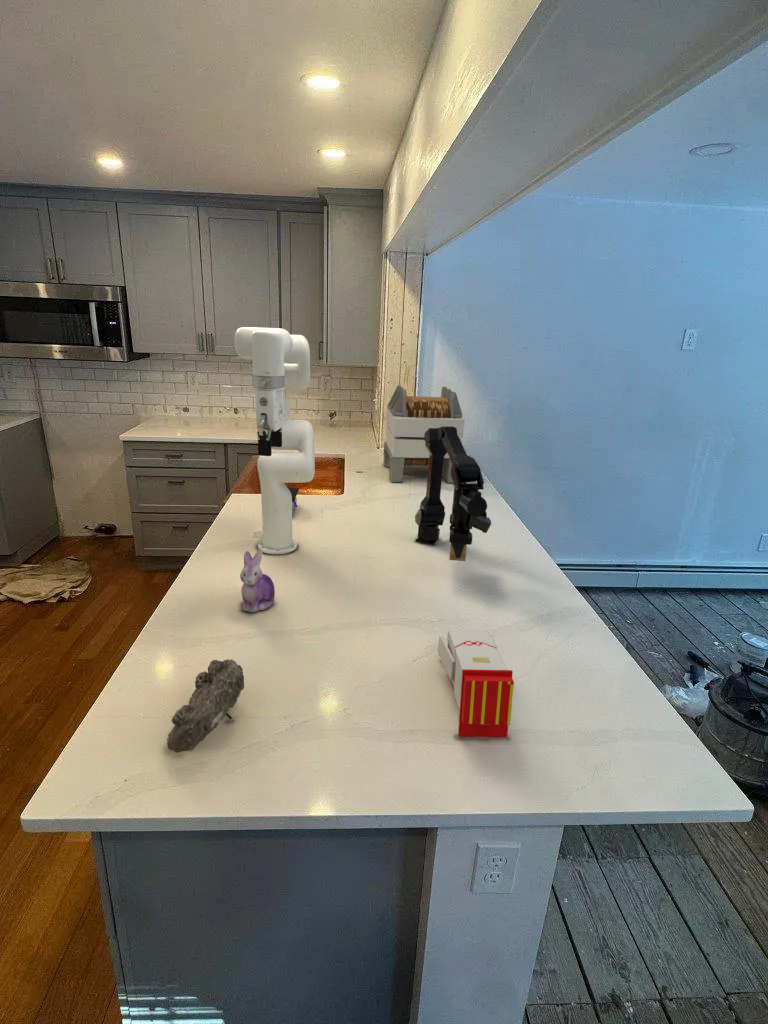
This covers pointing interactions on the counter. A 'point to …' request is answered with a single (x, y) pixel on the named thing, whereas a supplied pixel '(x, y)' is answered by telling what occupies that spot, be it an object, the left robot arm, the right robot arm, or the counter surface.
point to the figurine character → (293, 496)
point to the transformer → (417, 429)
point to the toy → (478, 682)
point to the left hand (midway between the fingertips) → (270, 451)
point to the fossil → (206, 705)
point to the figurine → (255, 584)
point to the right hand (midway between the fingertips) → (457, 554)
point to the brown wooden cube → (462, 557)
